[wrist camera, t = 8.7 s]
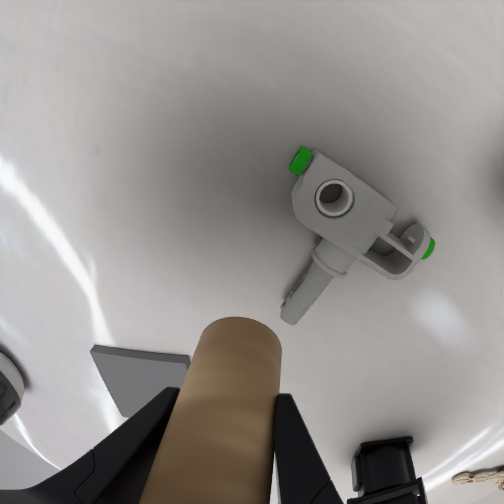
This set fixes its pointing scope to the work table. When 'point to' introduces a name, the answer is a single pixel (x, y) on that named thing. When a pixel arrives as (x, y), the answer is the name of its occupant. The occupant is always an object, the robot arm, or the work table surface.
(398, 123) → the work table surface
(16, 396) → the pump dispenser
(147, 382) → the mat
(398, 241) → the mechanical component
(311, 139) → the work table surface
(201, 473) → the dowel
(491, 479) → the hand mirror
